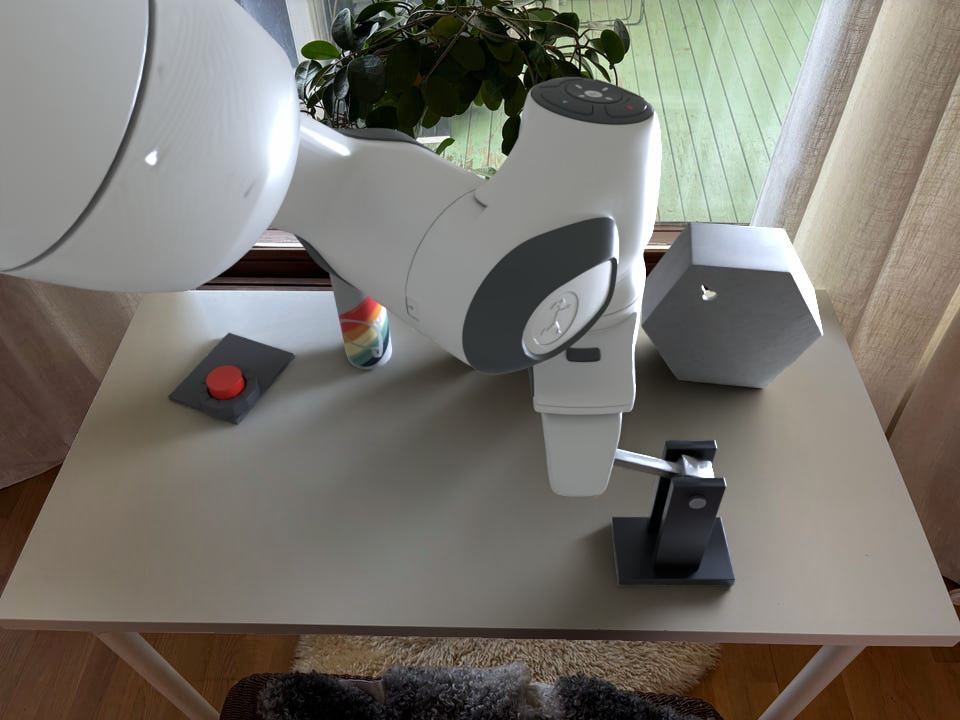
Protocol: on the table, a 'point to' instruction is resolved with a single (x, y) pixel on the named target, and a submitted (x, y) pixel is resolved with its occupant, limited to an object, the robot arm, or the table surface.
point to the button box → (256, 369)
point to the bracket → (676, 529)
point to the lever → (664, 465)
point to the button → (225, 382)
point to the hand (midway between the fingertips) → (565, 432)
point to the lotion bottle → (362, 326)
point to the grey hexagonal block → (730, 305)
